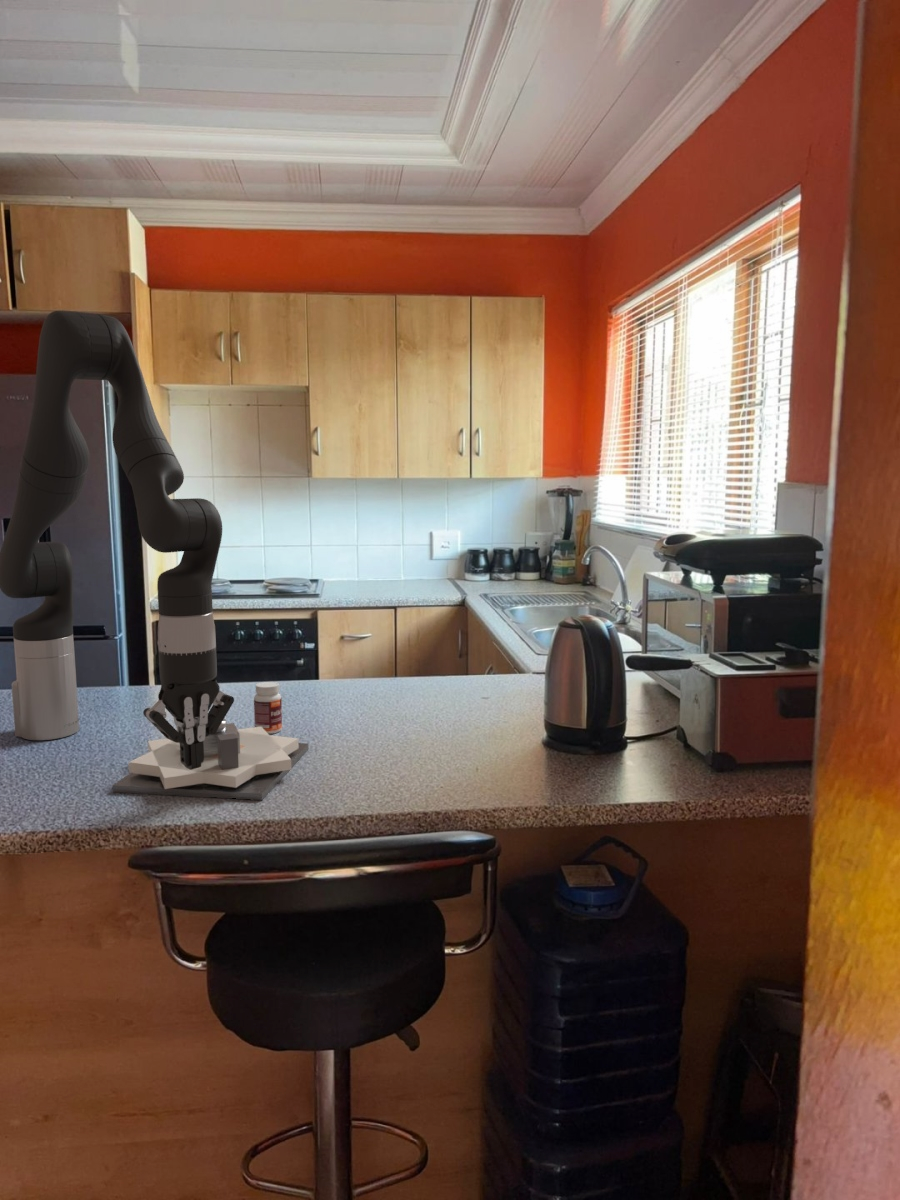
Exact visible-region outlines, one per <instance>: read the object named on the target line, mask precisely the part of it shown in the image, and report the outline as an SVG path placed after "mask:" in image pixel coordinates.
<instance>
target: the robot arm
mask: <svg viewBox="0 0 900 1200" xmlns="http://www.w3.org/2000/svg"><path fill="white" fill-rule="evenodd" d="M41 327H42V328H41V329H40V334H39V340H38V341H39V342H38V350H37V360H36V370H35V371H36V374H35V383H34V384H35V386H34V394H33V395H34V397H33V402H32V409H31V415H30V419H29V420H30V421H29V425H28V430H27V436H26V439H25V442H24V443H25V444H24V447H23V452H22V457H21V461H20V468H19V475H18V480H17V487H16V492H15V493H16V494H15V499H14V502H13V508H12V513H11V517H10V519H9V522H8V525H7V529H6V532H5V535H4V537H3V540H2V541H3V542H2V544H1V548H0V590H1V592H2V593H3V594H4V595H5V596H6V597H8V598H12V599H30V598H32V599H33V598H41V597H44V600H43V602H42V604H40V606H39V607H37V608H36V609H35V610H34V611H32V612H30V613H28V614H26V615H24V616H21V617H20V618H18V619H16V620H15V621H14V622H13V625H12V635H13V646H14V659H15V673H16V676H15V677H16V680H14V681H12V682H11V694H12V695H11V696H12V709H13V710H12V711H13V722H14V735H15V737H20V738H23V739H25V740H29V741H49V740H50V741H51V740H55V739H61V738H65V737H68V736H72V735H74V734H76V733H78V731H79V730H80V723H79V722H80V721H79V720H80V718H79V706H78V705H79V704H78V689H77V688H78V687H77V672H76V657H75V656H76V655H75V644H74V620H75V619H74V618H75V609H74V607H75V605H74V567H73V565H74V564H73V559H72V555H71V553H70V550H69V548H68V547H67V545H66V544H65V543H63V542H59V541H40V538H41V537H42V535H43V534H44V532H46V530H47V529H49V528H50V526H52V525H53V524H54V523H55V522H56V521H57V520H58V519H60V518H61V516H62V515H64V514H65V513H66V512H67V511H68V510H69V509H70V508H71V507H72V506H73V505H74V504H75V503H76V501H77V500H78V499H79V497H80V496H81V494H82V492H83V489H84V485H85V482H86V481H85V480H86V477H87V473H88V470H89V469H88V468H89V465H90V458H91V457H90V456H91V455H90V451H89V447H88V444H87V441H86V439H85V437H84V435H83V433H82V431H81V429H80V428H79V426H78V424H77V422H76V421H75V417H74V416H73V414H72V411H71V408H70V394H71V389H72V386H73V383H74V381H75V380H85V381H86V380H87V381H108V382H109V384H110V385H111V387H112V388H113V390H114V392H115V393H116V395H117V399H118V401H117V402H118V403H117V409H116V415H115V419H114V421H113V422H114V423H113V427H112V444H113V448H114V453H115V455H116V459H117V460H118V462H119V463H120V464H119V465H120V466H121V468H122V470H123V472H124V474H125V476H126V477H127V479H128V482H129V484H130V485H131V488H132V494H133V499H134V502H135V508H136V514H137V521H138V529H139V532H140V533H139V534H140V536H141V538H142V539H143V540H144V541H145V543H146V544H147V545H148V546H149V547H150V548H151V549H152V550H154V551H157V552H158V553H163V554H164V553H166V554H167V553H176V552H178V553H179V552H183V554H182V556H181V560H180V562H179V564H178V565H176V566H174V567H173V568H170V569H167V570H165V571H162V572H161V573H160V574H159V575H158V577H157V605H158V622H157V623H158V624H157V642H156V643H157V647H158V662H159V663H158V665H159V666H158V667H159V680H160V690H159V692H158V695H157V698H158V700H157V701H156V702H155V704H153V706H152V707H151V708H149V707H146V708H145V709H144V710H143V716H144V717H145V718H146V719H147V720H148V721H149V722H150V723H151V724H152V725H153V726H154V727H155V728H156V729H157V730H158V731H159V732H160V733H161V734H162V735H163V736H164V737H165V739H169V740H171V741H174V742H176V743H178V742H179V743H180V760H181V763H182V764H183V765H185V767H186V768H188V769H190V770H192V769H195V768H199V767H201V763H202V762H203V761H204V743H203V742H204V739H205V738H206V737H207V736H208V735H210V734H211V735H213V734H215V733H216V731H217V730H218V728H219V726H220V724H221V723H222V721H223V719H225V717H227V714H228V712H229V711H230V709H231V708H232V706H233V704H234V702H235V697H233V696H232V695H230V694H227V693H224V692H223V691H221V690H220V689H221V688H220V684H219V683H218V681H217V676H218V666H217V665H218V663H217V661H218V660H217V642H216V641H217V640H216V636H217V635H216V625H215V620H214V613H213V612H214V611H213V610H214V609H213V590H212V588H213V587H212V584H213V583H212V581H213V576H214V573H215V570H216V566H217V565H216V564H217V561H218V560H217V559H218V556H219V551H220V547H221V544H222V537H223V522H222V518H221V515H220V514H221V513H220V512H219V510H218V508H217V507H216V506H215V504H213V502H211V501H210V500H207V499H205V498H170V497H169V496H170V495H173V494H174V493H176V492H177V491H178V490H179V489H180V488H181V487H182V485H183V483H184V479H185V476H184V475H185V474H184V470H183V469H182V466H181V463H180V461H179V460H178V458H177V456H176V454H175V452H174V450H173V449H172V447H171V445H170V443H169V441H168V439H167V437H166V435H165V434H164V432H163V429H162V427H161V425H160V423H159V420H158V419H157V416H156V412H155V410H154V408H153V404H152V401H151V398H150V395H149V392H148V391H149V390H148V388H147V385H146V381H145V378H144V375H143V372H142V369H141V366H140V363H139V360H138V357H137V354H136V350H135V348H134V344H133V343H132V342H133V341H132V340H131V338H130V335H129V334H128V331H127V329H126V327H125V326H124V324H122V322H121V321H120V320H118V319H117V317H114V316H111V315H107V314H103V313H93V312H84V311H75V310H54V311H51V312H50V313H49V314H48V315H47V316H46V317H45V320H44V321H43V322H42V326H41ZM39 541H40V542H39ZM165 709H166V710H167V712H168V713H169V714H170V715H171V716H172V717H173V723H174V725H175V727H174V726H173V725H172V724H171V723H170V722H169V721H168V720H167V719H166V718H167V712H166V710H165Z"/></svg>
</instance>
